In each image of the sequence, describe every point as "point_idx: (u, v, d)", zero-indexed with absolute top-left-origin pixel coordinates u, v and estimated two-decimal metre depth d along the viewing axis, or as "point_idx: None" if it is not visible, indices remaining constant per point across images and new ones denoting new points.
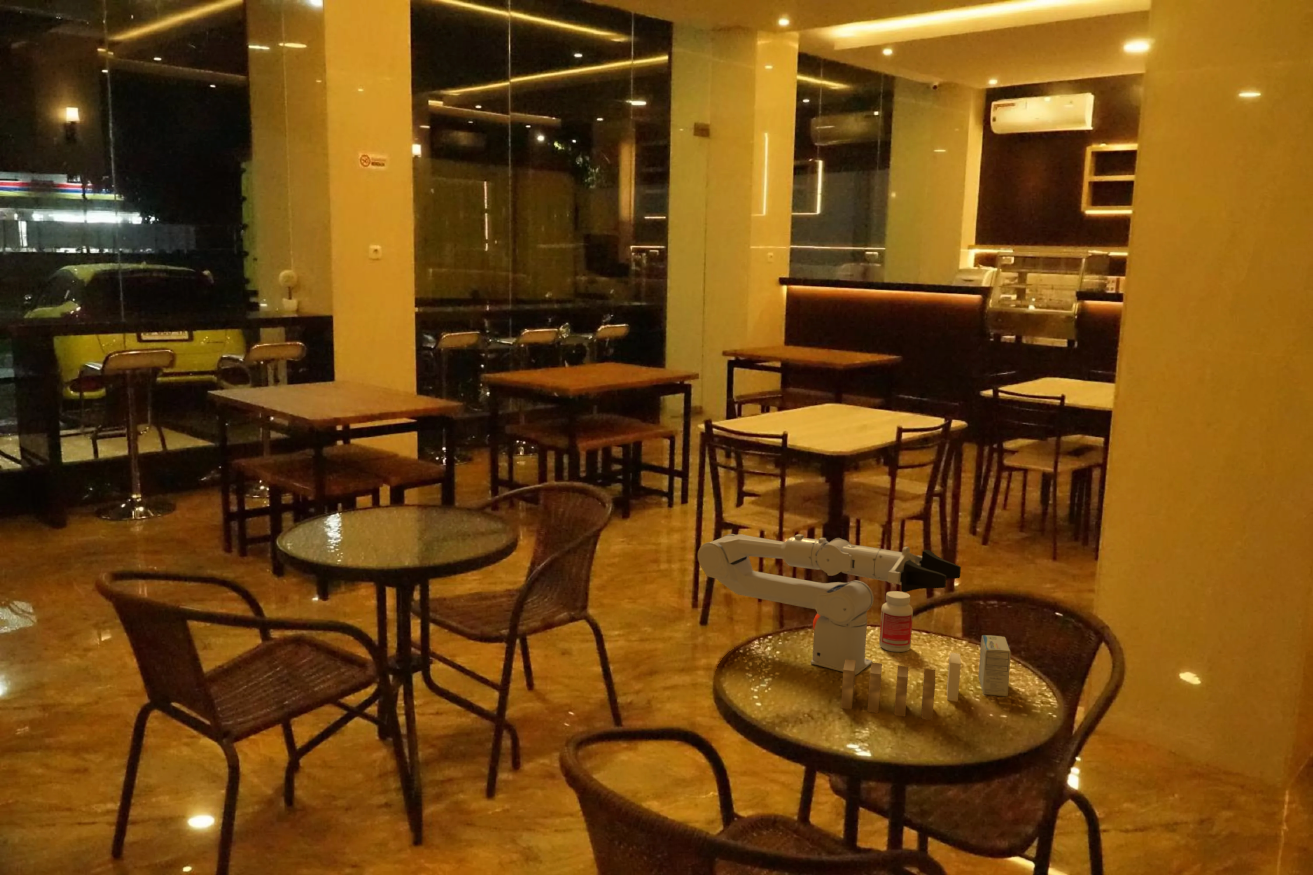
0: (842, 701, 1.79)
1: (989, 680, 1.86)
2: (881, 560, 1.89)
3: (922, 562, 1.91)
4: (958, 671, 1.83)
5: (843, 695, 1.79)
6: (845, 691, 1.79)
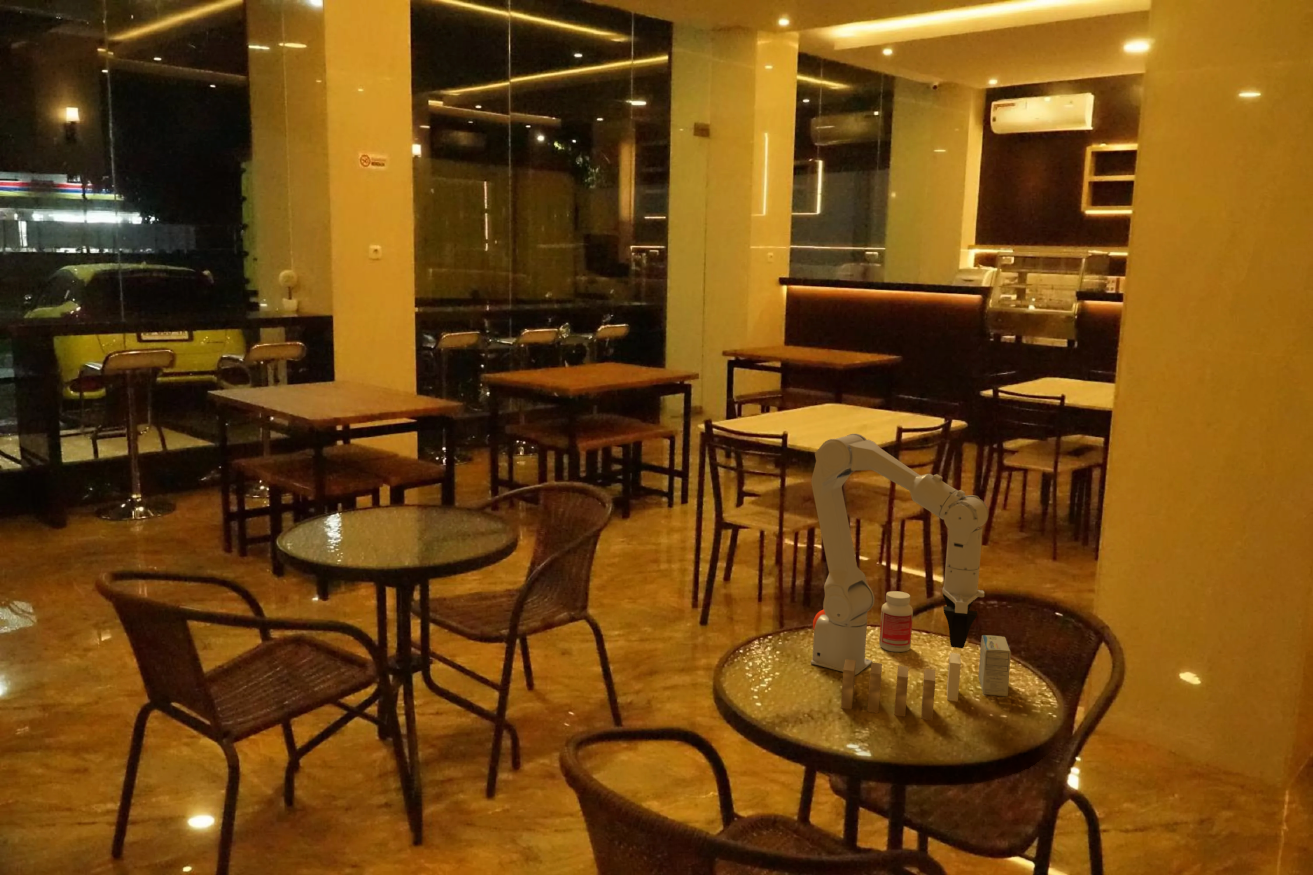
0: (842, 701, 1.79)
1: (989, 680, 1.86)
2: (971, 576, 1.80)
3: None
4: (958, 671, 1.83)
5: (843, 695, 1.79)
6: (845, 691, 1.79)
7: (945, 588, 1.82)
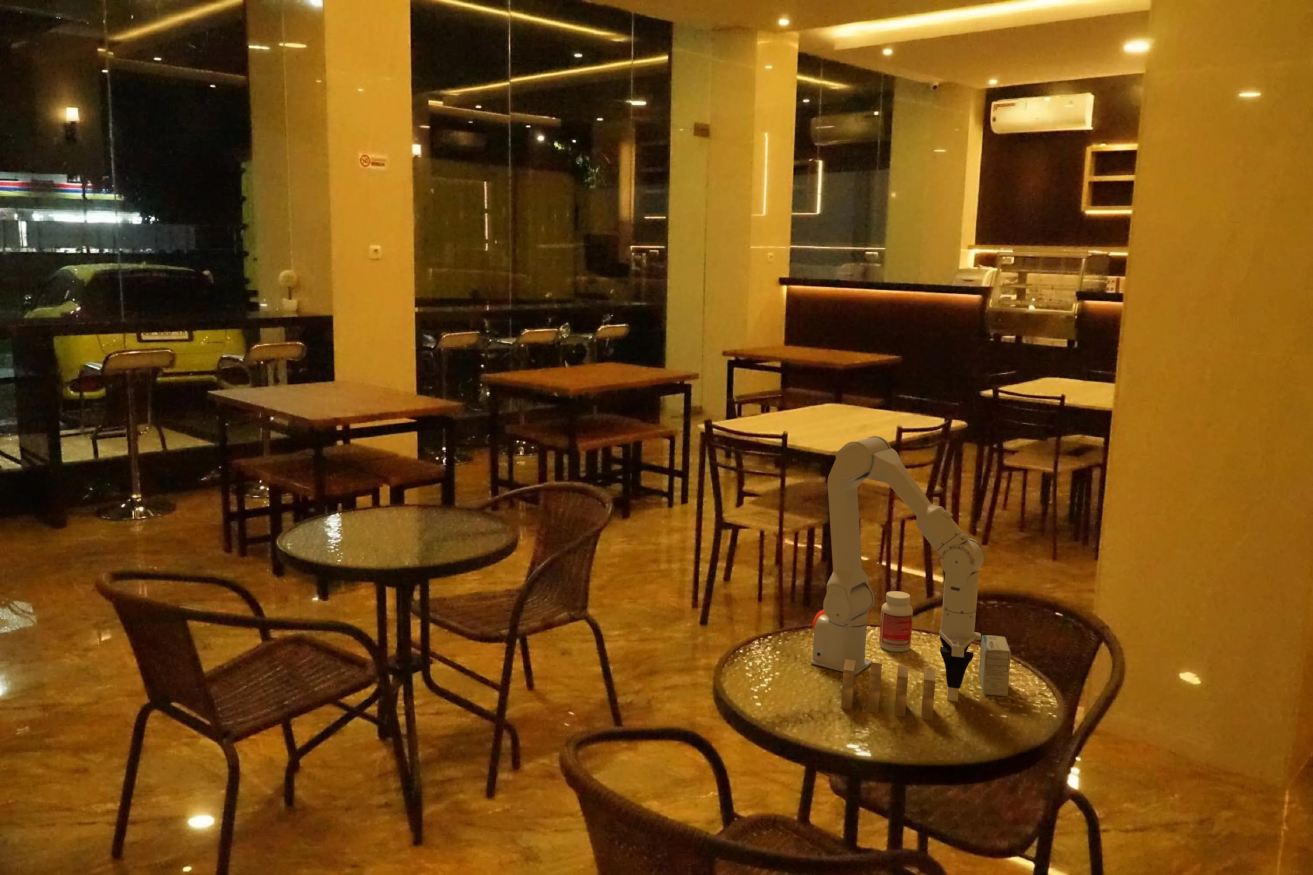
0: (842, 701, 1.79)
1: (989, 680, 1.86)
2: (967, 619, 1.81)
3: None
4: None
5: (843, 695, 1.79)
6: (846, 691, 1.79)
7: (942, 630, 1.84)
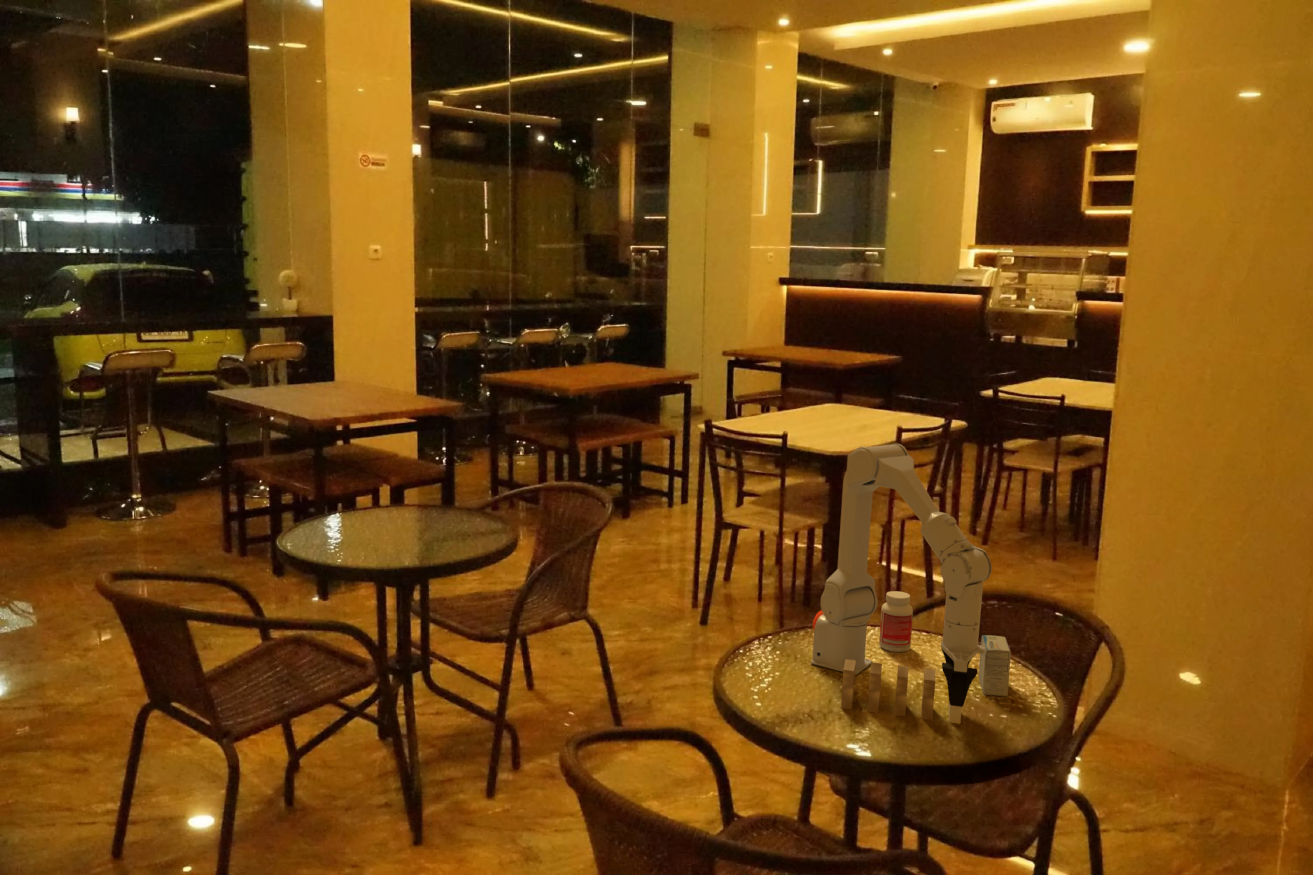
0: (842, 701, 1.79)
1: (989, 680, 1.86)
2: (970, 632, 1.72)
3: None
4: None
5: (843, 695, 1.79)
6: (845, 691, 1.79)
7: (944, 643, 1.75)
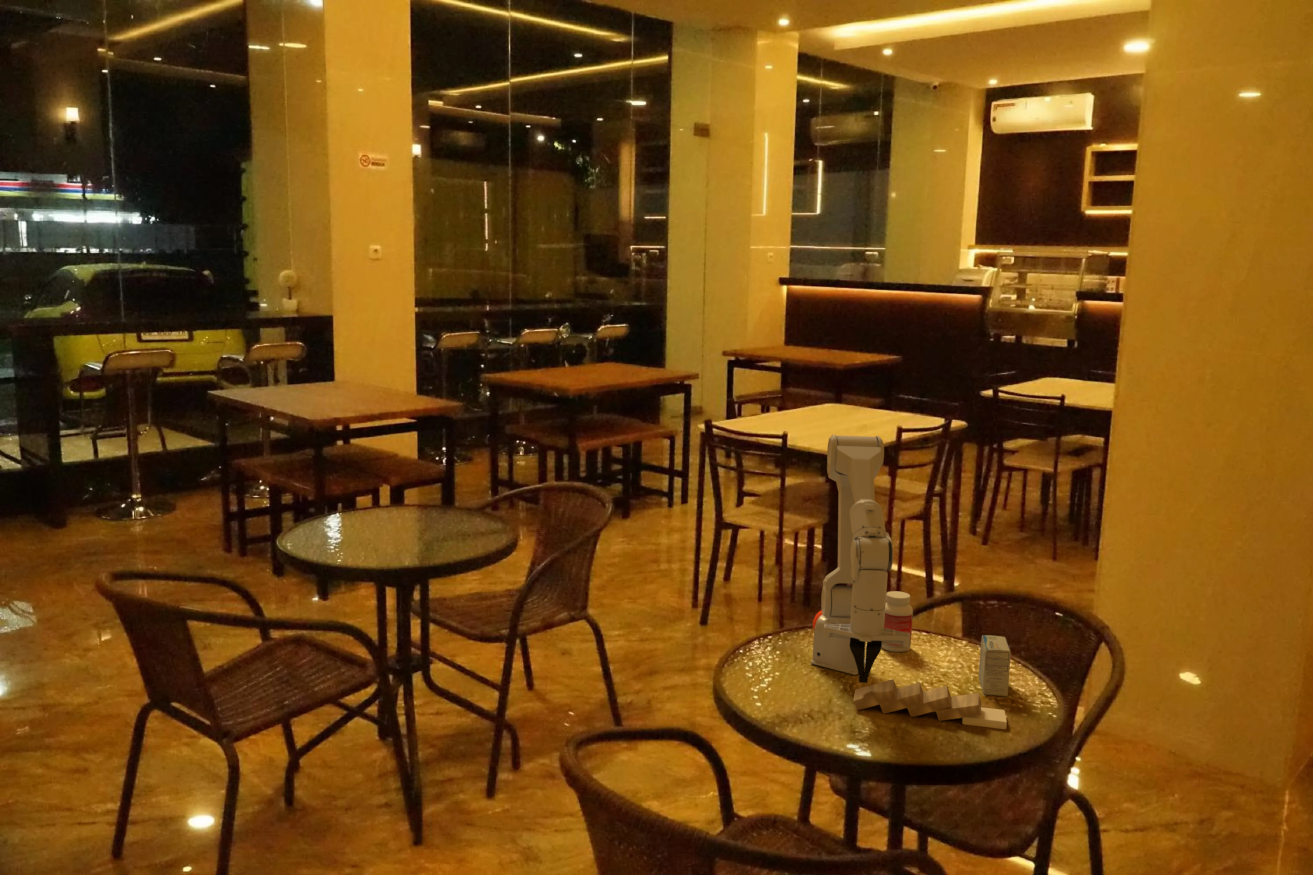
0: (860, 699, 1.78)
1: (989, 680, 1.86)
2: (853, 612, 1.77)
3: (867, 643, 1.78)
4: None
5: (866, 698, 1.78)
6: (871, 699, 1.78)
7: None
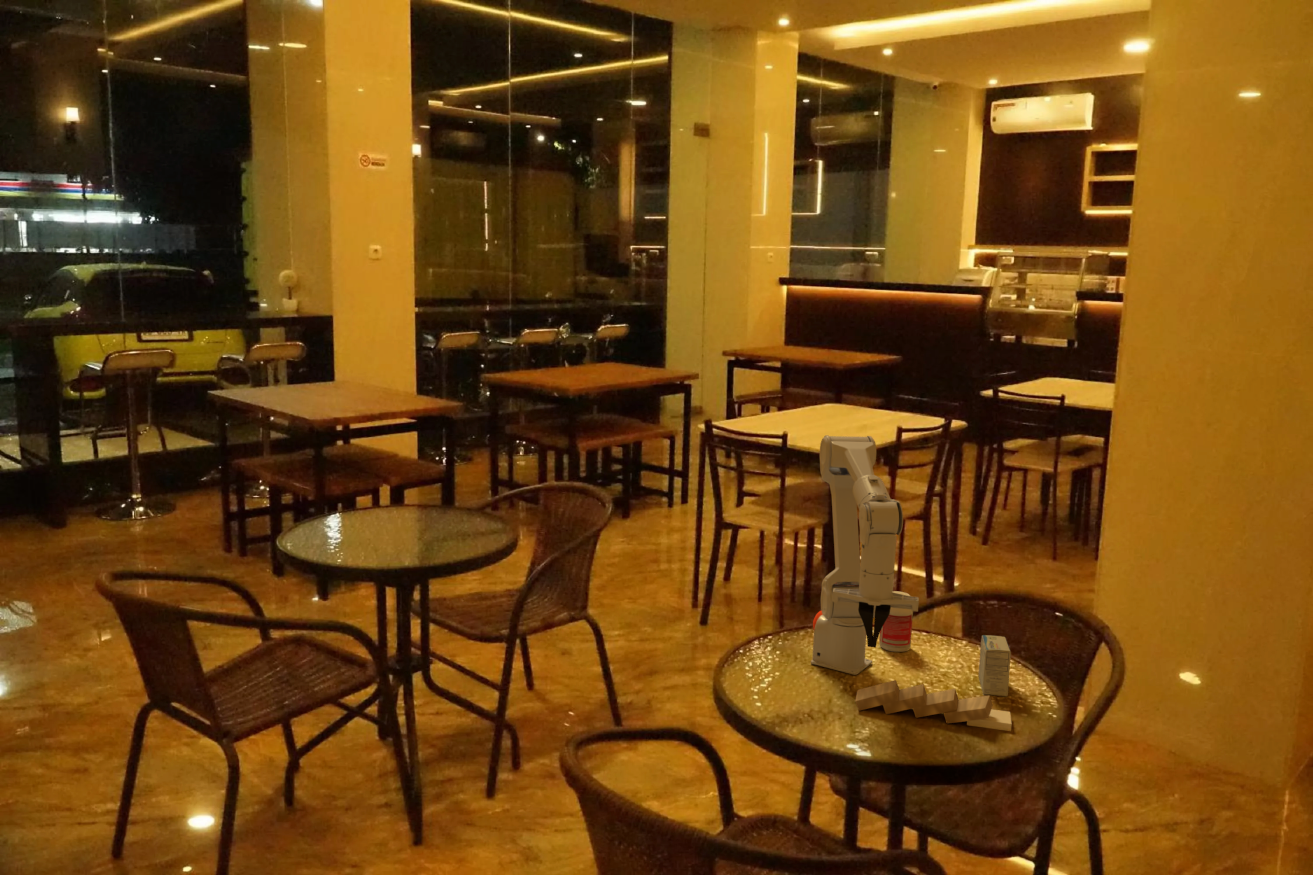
0: (862, 700, 1.78)
1: (989, 680, 1.86)
2: (861, 576, 1.78)
3: (876, 607, 1.79)
4: None
5: (868, 699, 1.78)
6: (873, 700, 1.77)
7: None
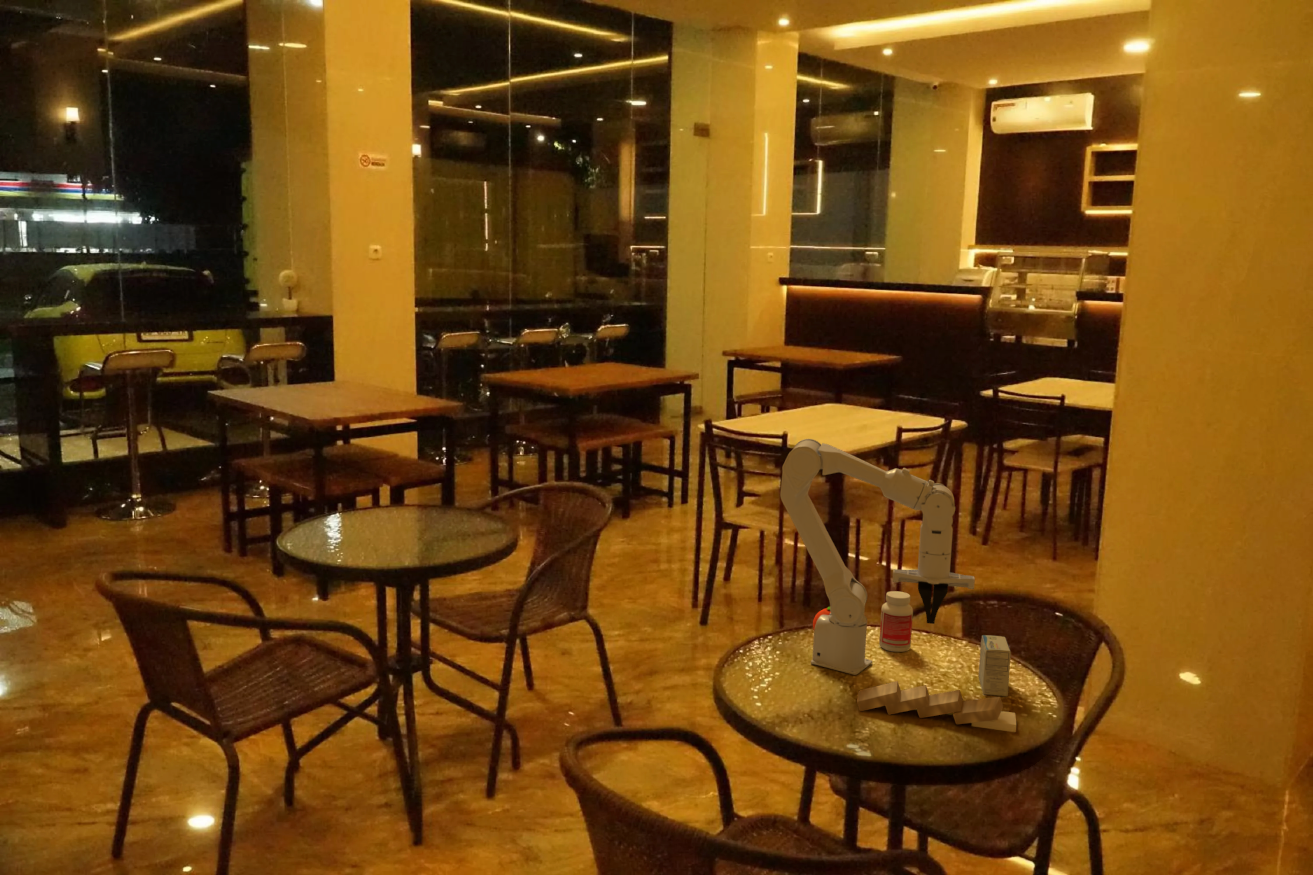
0: (863, 700, 1.78)
1: (989, 680, 1.86)
2: (921, 557, 1.90)
3: (934, 586, 1.91)
4: None
5: (870, 700, 1.77)
6: (875, 701, 1.77)
7: None
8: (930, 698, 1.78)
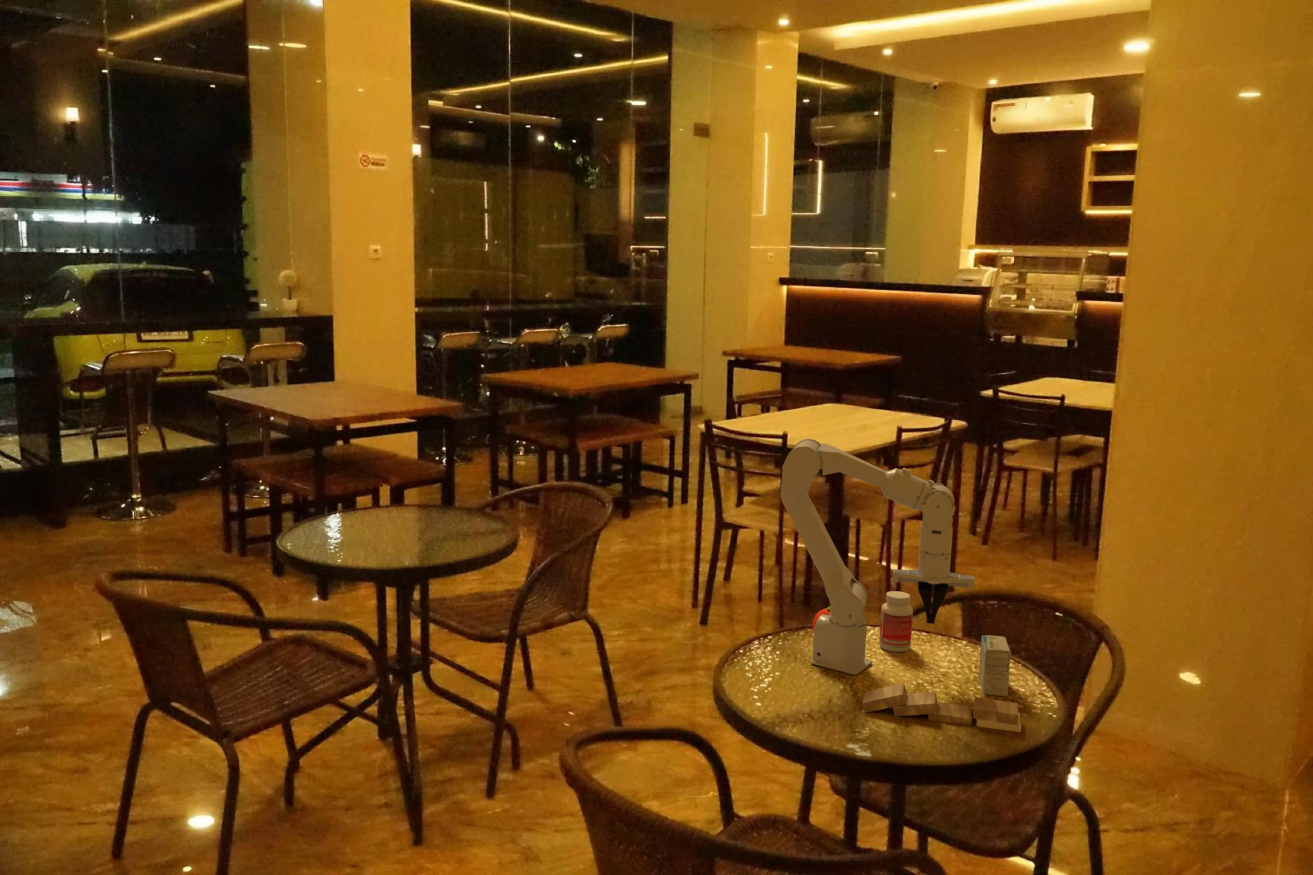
0: (869, 702, 1.77)
1: (989, 680, 1.86)
2: (921, 557, 1.90)
3: (934, 586, 1.91)
4: None
5: (876, 701, 1.77)
6: (881, 702, 1.77)
7: None
8: (941, 706, 1.78)
